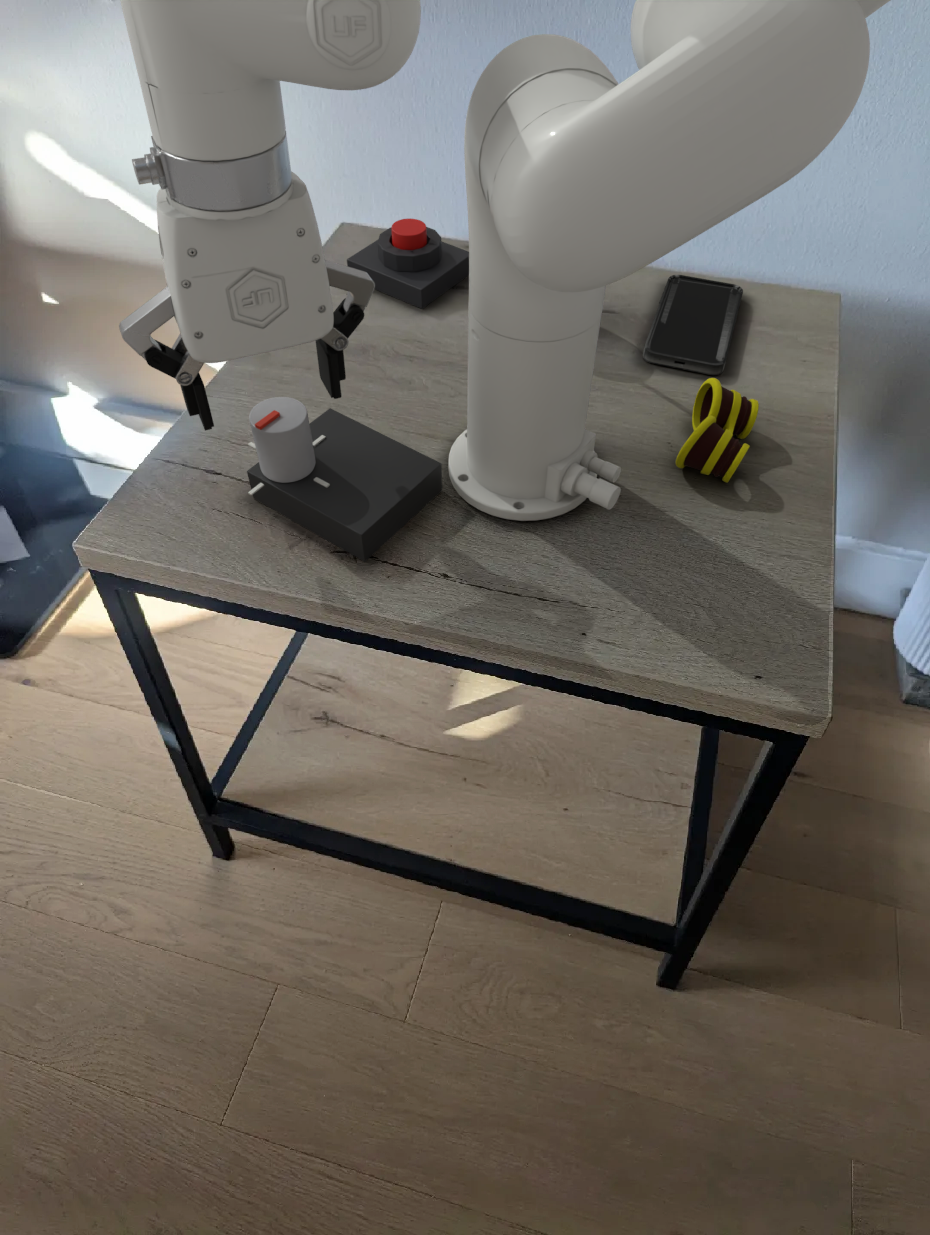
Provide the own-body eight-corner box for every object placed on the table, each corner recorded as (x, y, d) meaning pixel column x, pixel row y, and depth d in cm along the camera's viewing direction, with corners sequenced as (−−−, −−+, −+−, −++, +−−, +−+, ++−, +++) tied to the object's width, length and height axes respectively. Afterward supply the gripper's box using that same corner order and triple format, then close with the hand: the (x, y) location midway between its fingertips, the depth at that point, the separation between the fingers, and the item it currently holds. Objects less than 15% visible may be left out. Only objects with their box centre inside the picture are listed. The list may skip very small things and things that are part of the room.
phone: (744, 286, 90) (724, 367, 81) (741, 296, 91) (721, 377, 82) (669, 272, 92) (641, 350, 83) (667, 282, 92) (639, 361, 83)
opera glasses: (725, 499, 73) (752, 457, 69) (666, 475, 73) (690, 432, 69) (742, 430, 79) (768, 387, 75) (688, 408, 79) (711, 364, 75)
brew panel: (442, 490, 72) (441, 461, 70) (349, 576, 66) (345, 547, 64) (316, 426, 77) (311, 397, 75) (219, 500, 71) (210, 471, 69)
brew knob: (287, 439, 71) (276, 385, 67) (327, 460, 70) (318, 407, 66) (248, 468, 69) (235, 414, 65) (289, 490, 68) (278, 437, 63)
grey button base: (473, 272, 94) (473, 236, 91) (422, 309, 89) (420, 273, 86) (400, 244, 97) (398, 209, 94) (348, 278, 93) (344, 242, 90)
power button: (433, 241, 91) (433, 225, 89) (412, 255, 89) (411, 239, 88) (406, 231, 92) (405, 214, 91) (385, 245, 90) (384, 228, 89)
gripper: (85, 221, 47) (163, 463, 60) (385, 170, 52) (395, 405, 65) (65, 163, 51) (142, 401, 64) (344, 121, 56) (361, 351, 69)
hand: (269, 403), depth 65 cm, fingers open, 9 cm apart
